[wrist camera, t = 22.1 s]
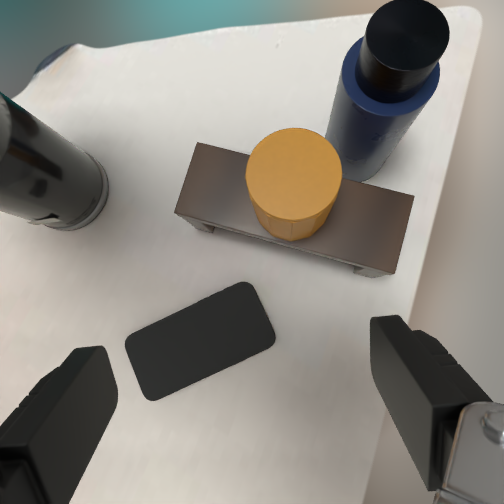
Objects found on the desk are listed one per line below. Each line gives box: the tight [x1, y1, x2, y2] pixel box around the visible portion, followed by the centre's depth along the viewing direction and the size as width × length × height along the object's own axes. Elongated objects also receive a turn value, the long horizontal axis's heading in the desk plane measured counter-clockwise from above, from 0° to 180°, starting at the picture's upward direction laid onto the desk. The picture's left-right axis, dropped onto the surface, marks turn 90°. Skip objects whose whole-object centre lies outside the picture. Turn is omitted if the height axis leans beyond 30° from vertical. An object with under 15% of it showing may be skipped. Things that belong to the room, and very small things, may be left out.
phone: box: [125, 282, 275, 401], centre depth 36 cm, size 7×1×15 cm
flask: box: [325, 0, 450, 182], centre depth 29 cm, size 7×7×18 cm
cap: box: [245, 128, 342, 241], centre depth 27 cm, size 6×6×8 cm
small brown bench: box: [174, 142, 414, 278], centre depth 34 cm, size 20×7×7 cm, turn 73°
